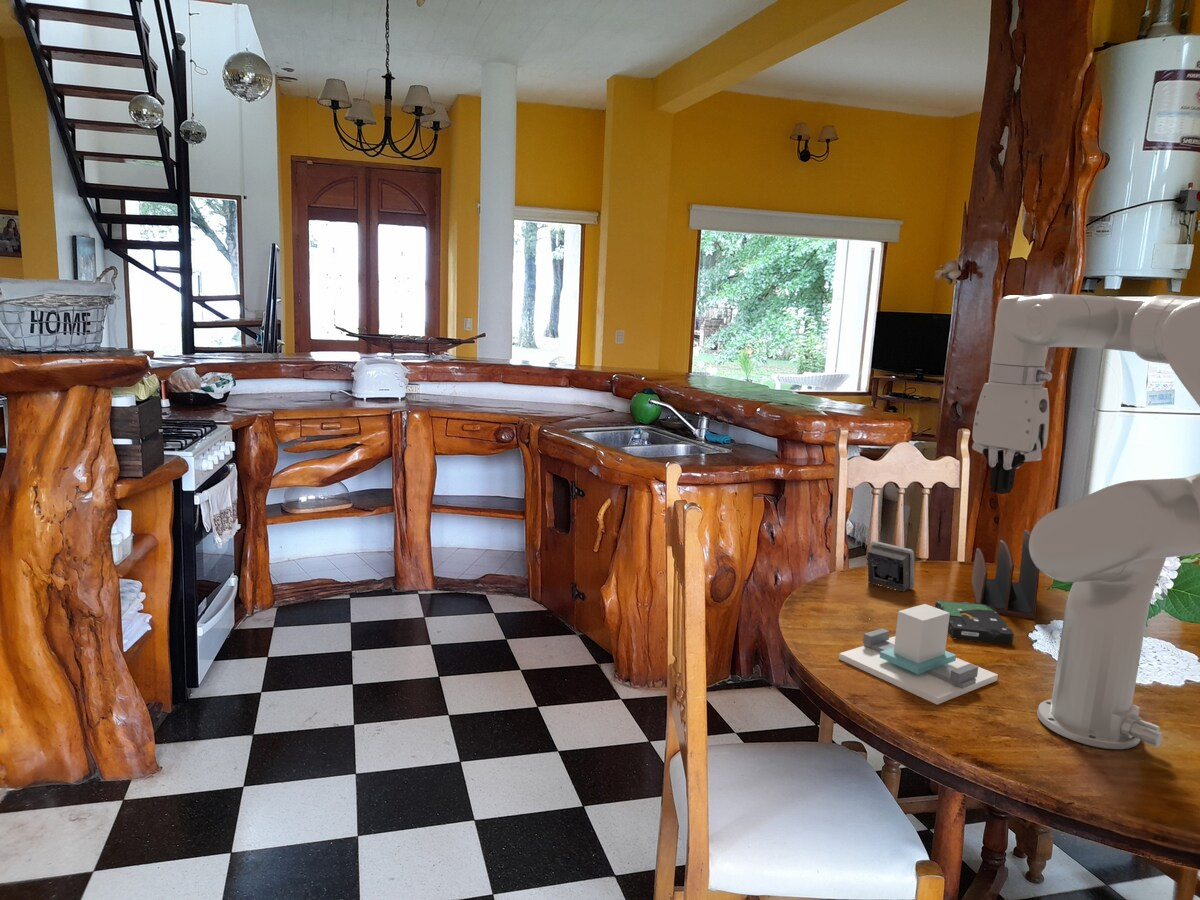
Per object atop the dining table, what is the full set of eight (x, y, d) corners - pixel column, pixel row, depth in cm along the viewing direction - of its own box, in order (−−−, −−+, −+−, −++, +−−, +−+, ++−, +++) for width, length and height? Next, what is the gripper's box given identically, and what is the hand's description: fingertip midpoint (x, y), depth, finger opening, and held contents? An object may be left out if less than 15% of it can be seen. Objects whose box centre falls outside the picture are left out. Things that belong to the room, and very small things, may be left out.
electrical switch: (915, 589, 172) (918, 547, 170) (904, 597, 168) (907, 555, 166) (872, 578, 178) (874, 538, 176) (861, 586, 174) (863, 544, 172)
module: (944, 654, 132) (949, 612, 131) (918, 663, 128) (923, 620, 127) (918, 643, 136) (923, 603, 135) (892, 652, 132) (896, 610, 131)
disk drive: (1013, 649, 145) (989, 617, 159) (1016, 634, 144) (991, 603, 158) (951, 642, 146) (932, 611, 161) (953, 627, 146) (934, 597, 160)
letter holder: (1021, 588, 176) (1030, 525, 173) (1034, 620, 158) (1045, 549, 155) (970, 581, 179) (978, 518, 177) (977, 611, 161) (987, 542, 158)
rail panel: (997, 680, 130) (999, 660, 129) (937, 704, 121) (939, 683, 120) (899, 640, 144) (901, 621, 144) (838, 659, 135) (840, 639, 135)
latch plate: (955, 660, 132) (956, 654, 132) (917, 674, 127) (918, 668, 127) (917, 645, 138) (917, 639, 138) (879, 657, 132) (880, 651, 132)
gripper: (1077, 381, 123) (1060, 500, 127) (983, 372, 136) (970, 481, 139) (1052, 382, 119) (1034, 505, 122) (957, 372, 131) (944, 485, 134)
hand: (1000, 492), depth 131 cm, fingers closed
